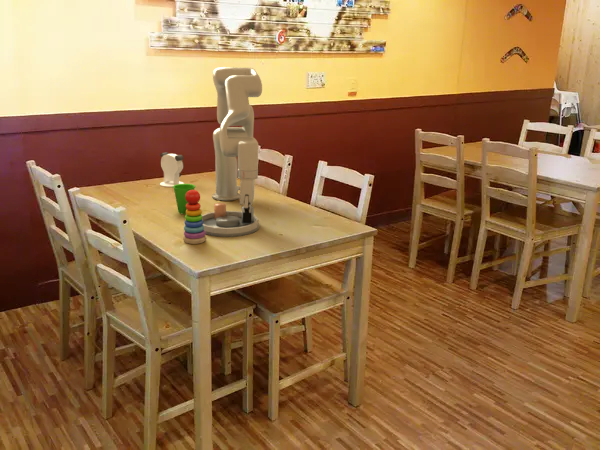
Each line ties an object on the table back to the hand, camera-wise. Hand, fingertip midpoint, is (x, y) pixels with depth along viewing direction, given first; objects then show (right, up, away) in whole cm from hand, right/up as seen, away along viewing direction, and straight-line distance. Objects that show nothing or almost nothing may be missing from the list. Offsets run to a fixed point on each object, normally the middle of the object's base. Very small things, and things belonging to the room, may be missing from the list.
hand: (247, 220), depth 223 cm
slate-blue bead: (0, -1, 0) cm, 1 cm away
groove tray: (-8, -3, +1) cm, 8 cm away
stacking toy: (-17, -8, -16) cm, 25 cm away
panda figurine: (-42, +18, +62) cm, 78 cm away
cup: (-27, +3, +17) cm, 33 cm away
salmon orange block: (-11, +1, +6) cm, 13 cm away
